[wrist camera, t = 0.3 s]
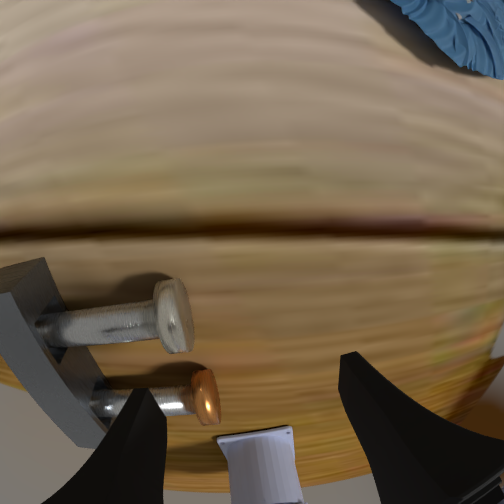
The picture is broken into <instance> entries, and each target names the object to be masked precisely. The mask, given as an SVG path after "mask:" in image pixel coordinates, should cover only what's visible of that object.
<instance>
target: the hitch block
mask: <svg viewBox="0 0 504 504" xmlns="http://www.w3.org/2000/svg"><path fill="white" fill-rule="evenodd" d="M66 311H67V308H66V306H65V304H64V302H63V300H62V298H61V296H60V294H59V291H58V289H57V287H56V285H55V282H54V280H53V278H52V275H51V273H50V271H49V268H48V266H47V263H46V261H45V258H44V257H43V258H39V259H35V260H31V261H27V262H23V263H19V264H15V265H11V266H8V267H4V268H1V269H0V354H1V355H2V357H3V358H4V360H5V361H6V363H7V364H8V366H9V367H10V369H11V370H12V371H13V373H14V374H15V376H16V377H17V378H18V380H19V381H20V382H21V384H22V385H23V386H24V388H25V389H26V390H27V391H28V393H29V394H30V395H31V396H32V398H33V399H34V400H35V401H36V402H37V404H38V405H39V406H40V407H41V408H42V409H43V411H44V412H45V413H46V414H47V415H48V416H49V417H50V418H51V420H52V421H53V422H54V423H55V424H56V425H57V426H58V427H59V428H60V429H61V430H62V431H63V432H64V433H65V434H66V435H67V436H68V437H69V438H70V439H71V440H72V441H73V442H74V443H75V444H76V445H77V446H78V447H84V448H92V449H96V448H97V447H98V445H99V444H100V442H101V441H102V439H103V438H104V436H105V435H106V433H107V432H108V430H109V429H110V427H111V425H112V424H113V422H114V421H115V419H116V417H97V416H96V415H95V414H94V412H93V411H92V410H91V409H90V407H89V406H88V404H89V401H90V398H91V395H92V392H93V390H113V388H112V387H111V385H110V384H109V382H108V381H107V379H106V378H105V376H104V375H103V373H102V371H101V370H100V368H99V367H98V365H97V363H96V362H95V360H94V358H93V357H92V355H91V353H90V352H89V350H88V348H87V346H75V347H58V348H47V346H46V344H45V343H44V341H43V339H42V338H41V336H40V334H39V332H38V331H37V329H36V327H35V325H34V323H35V321H36V320H37V318H38V317H39V316H40V315H42V314H50V313H58V312H66Z"/></svg>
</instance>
